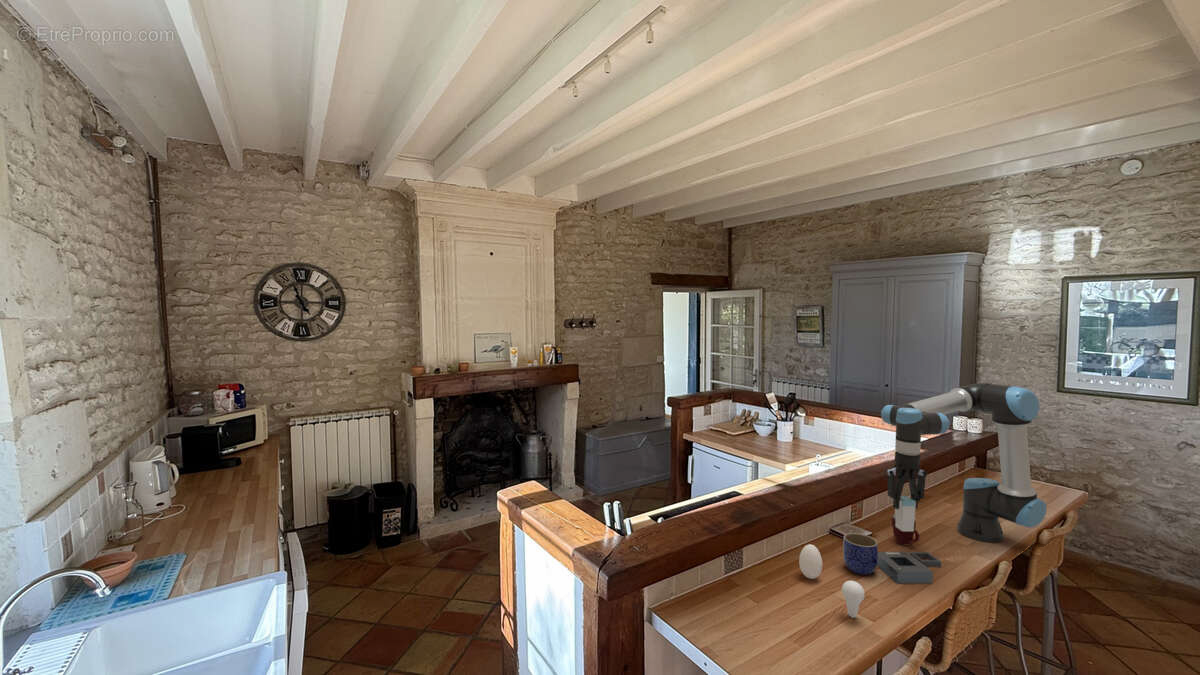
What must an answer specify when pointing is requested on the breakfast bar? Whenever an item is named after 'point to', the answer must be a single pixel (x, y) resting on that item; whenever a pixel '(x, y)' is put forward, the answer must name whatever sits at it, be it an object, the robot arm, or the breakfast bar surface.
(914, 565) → the panel
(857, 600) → the lightbulb
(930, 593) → the breakfast bar surface
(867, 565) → the planter
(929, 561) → the holster
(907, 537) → the mug
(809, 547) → the egg
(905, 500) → the plug
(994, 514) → the robot arm
